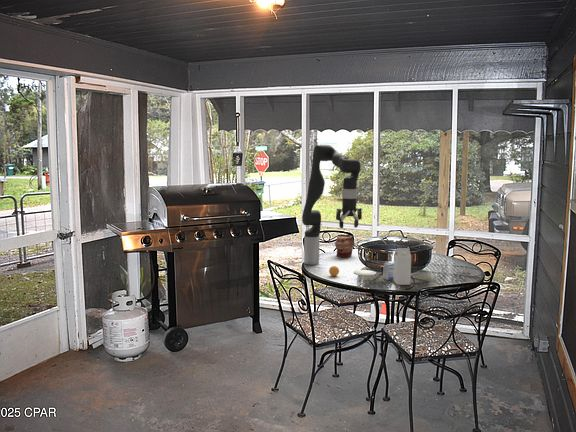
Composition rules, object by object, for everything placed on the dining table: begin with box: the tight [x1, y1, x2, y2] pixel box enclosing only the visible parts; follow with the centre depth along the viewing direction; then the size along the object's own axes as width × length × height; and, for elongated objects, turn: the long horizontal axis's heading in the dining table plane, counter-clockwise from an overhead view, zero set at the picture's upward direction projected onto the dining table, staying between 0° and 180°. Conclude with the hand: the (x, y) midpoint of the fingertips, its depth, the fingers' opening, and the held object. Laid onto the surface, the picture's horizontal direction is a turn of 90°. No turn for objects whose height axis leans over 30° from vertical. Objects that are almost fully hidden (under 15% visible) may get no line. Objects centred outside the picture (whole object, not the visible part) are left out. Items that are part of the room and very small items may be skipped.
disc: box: [353, 269, 377, 277], centre depth 289 cm, size 13×13×1 cm
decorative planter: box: [334, 234, 355, 258], centre depth 334 cm, size 20×12×14 cm, turn 159°
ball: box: [328, 265, 340, 277], centre depth 281 cm, size 6×6×6 cm
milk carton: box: [392, 247, 412, 286], centre depth 266 cm, size 7×7×19 cm
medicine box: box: [382, 262, 394, 281], centre depth 276 cm, size 8×4×9 cm, turn 118°
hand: (348, 227), depth 266 cm, fingers open, 8 cm apart
